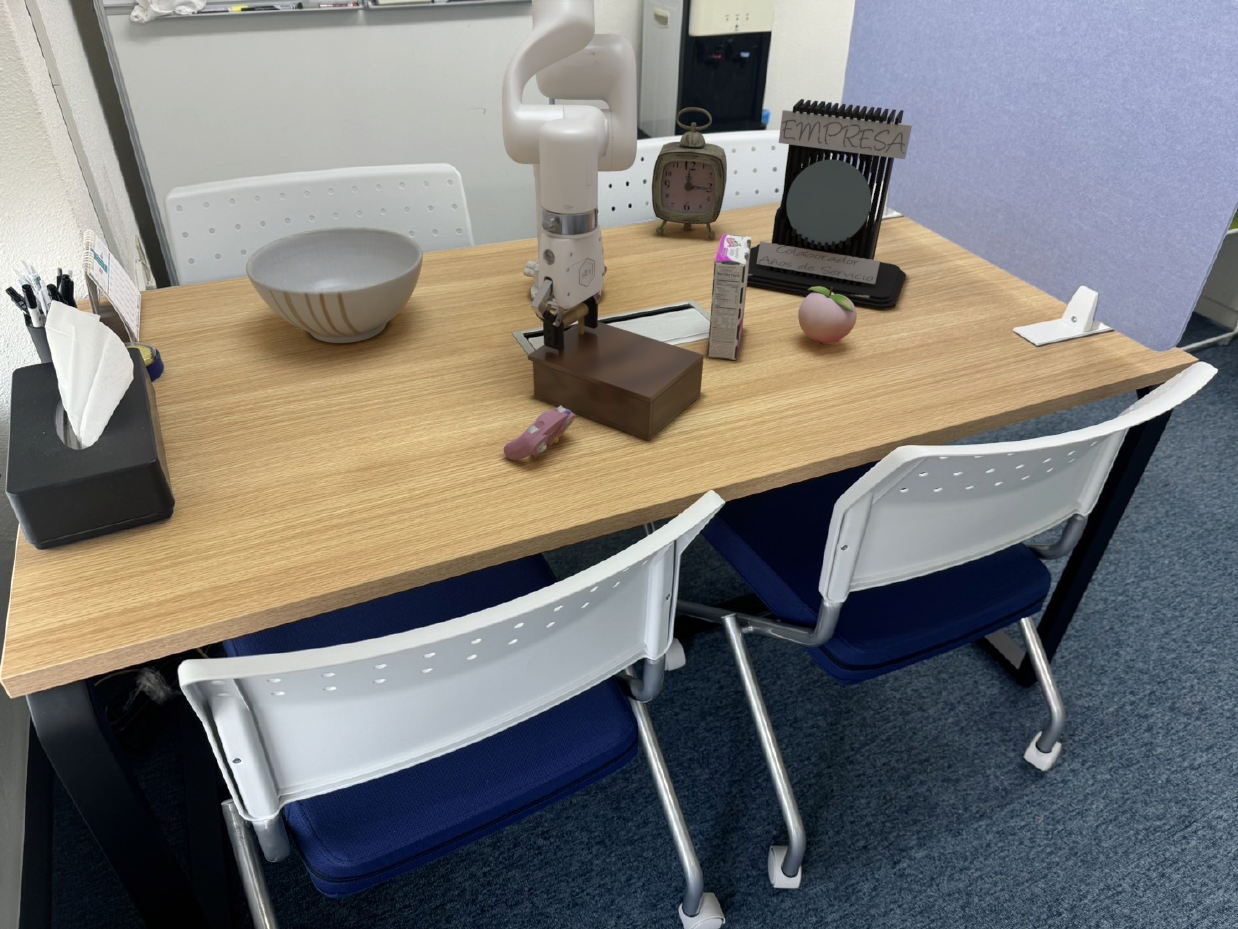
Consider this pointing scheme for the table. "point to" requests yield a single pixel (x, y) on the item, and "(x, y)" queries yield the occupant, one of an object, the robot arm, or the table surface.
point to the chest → (617, 400)
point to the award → (833, 205)
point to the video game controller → (540, 434)
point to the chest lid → (616, 357)
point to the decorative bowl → (337, 280)
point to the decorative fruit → (826, 315)
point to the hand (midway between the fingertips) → (571, 335)
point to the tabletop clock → (689, 179)
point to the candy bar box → (728, 296)
